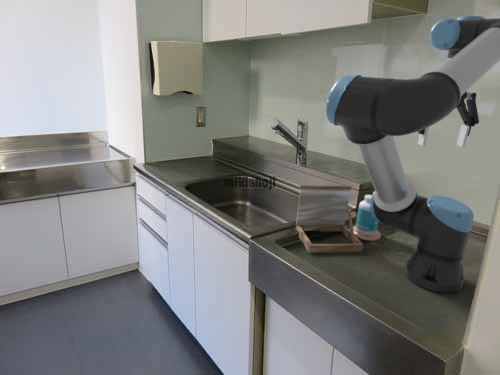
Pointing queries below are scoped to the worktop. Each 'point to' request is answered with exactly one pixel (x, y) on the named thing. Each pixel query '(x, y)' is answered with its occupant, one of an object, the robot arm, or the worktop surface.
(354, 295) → the worktop surface
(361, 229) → the pill bottle
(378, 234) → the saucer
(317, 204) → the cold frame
